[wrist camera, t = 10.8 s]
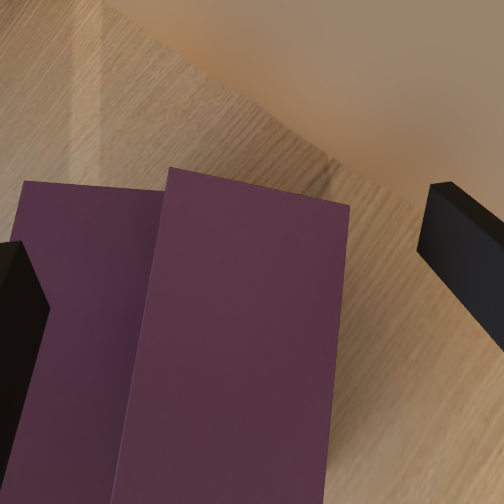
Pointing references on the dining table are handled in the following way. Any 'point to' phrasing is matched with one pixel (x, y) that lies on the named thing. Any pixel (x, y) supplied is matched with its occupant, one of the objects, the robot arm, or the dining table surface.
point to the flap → (235, 348)
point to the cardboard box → (81, 336)
